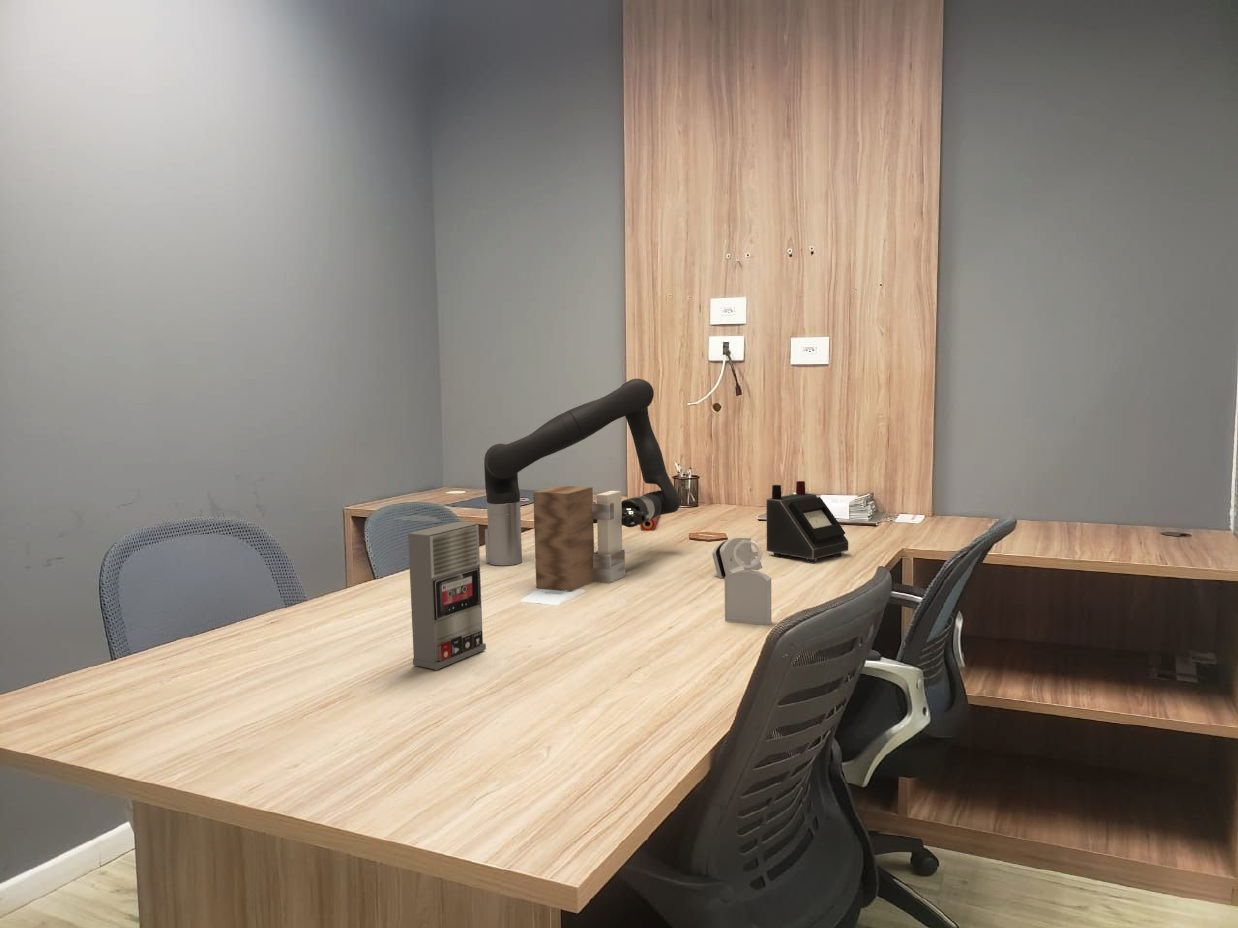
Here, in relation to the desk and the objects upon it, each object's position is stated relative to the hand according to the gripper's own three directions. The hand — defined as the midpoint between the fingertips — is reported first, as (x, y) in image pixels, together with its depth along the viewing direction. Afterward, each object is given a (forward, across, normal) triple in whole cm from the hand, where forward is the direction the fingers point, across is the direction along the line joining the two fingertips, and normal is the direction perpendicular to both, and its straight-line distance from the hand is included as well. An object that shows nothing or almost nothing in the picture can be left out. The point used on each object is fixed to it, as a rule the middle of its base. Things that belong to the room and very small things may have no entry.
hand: (608, 520), depth 239 cm
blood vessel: (-85, -28, +16) cm, 91 cm away
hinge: (-19, +28, +15) cm, 37 cm away
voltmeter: (-46, +39, +15) cm, 62 cm away
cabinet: (+6, -5, +15) cm, 17 cm away
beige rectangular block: (-1, 0, +11) cm, 11 cm away
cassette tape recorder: (+70, +3, +15) cm, 72 cm away
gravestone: (+24, +46, +15) cm, 54 cm away
